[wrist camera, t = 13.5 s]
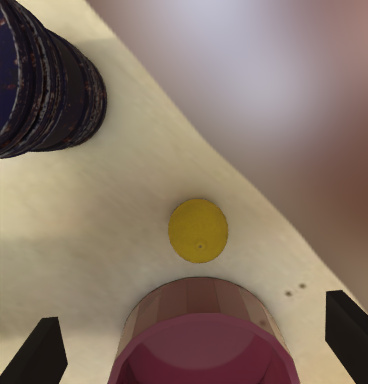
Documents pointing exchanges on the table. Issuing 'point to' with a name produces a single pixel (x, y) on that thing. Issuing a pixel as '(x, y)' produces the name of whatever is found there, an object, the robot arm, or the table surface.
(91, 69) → the storage jar
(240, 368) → the pot
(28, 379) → the robot arm
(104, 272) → the table surface
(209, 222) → the lemon
